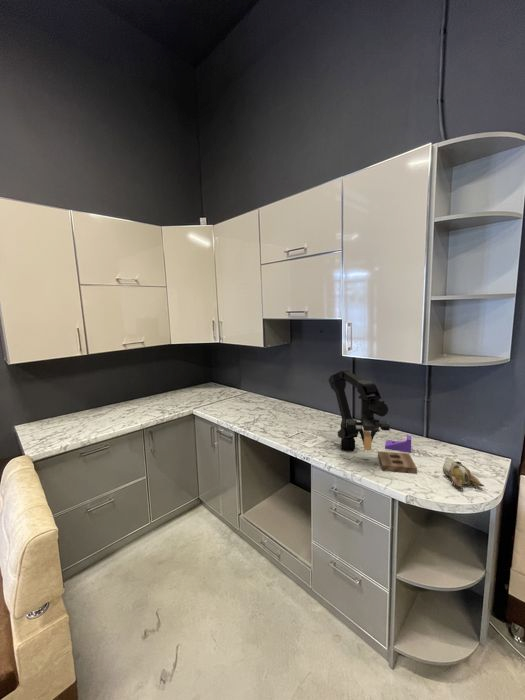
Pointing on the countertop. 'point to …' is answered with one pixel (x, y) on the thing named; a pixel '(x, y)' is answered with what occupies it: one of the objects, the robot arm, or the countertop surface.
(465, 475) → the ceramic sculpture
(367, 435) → the tan wooden block
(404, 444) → the bracket
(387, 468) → the brown slotted square board
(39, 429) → the countertop surface
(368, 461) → the countertop surface
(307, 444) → the photo frame
